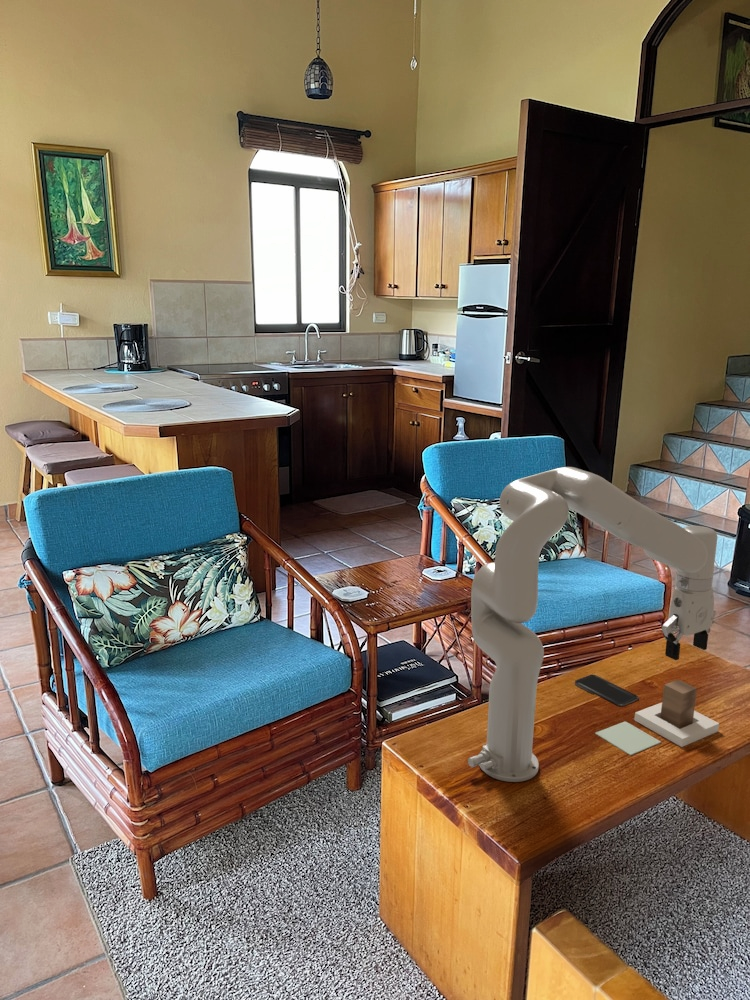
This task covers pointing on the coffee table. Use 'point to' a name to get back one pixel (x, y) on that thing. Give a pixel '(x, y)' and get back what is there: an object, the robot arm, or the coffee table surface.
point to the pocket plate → (678, 736)
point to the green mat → (628, 738)
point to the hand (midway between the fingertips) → (685, 652)
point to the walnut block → (678, 703)
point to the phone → (606, 690)
